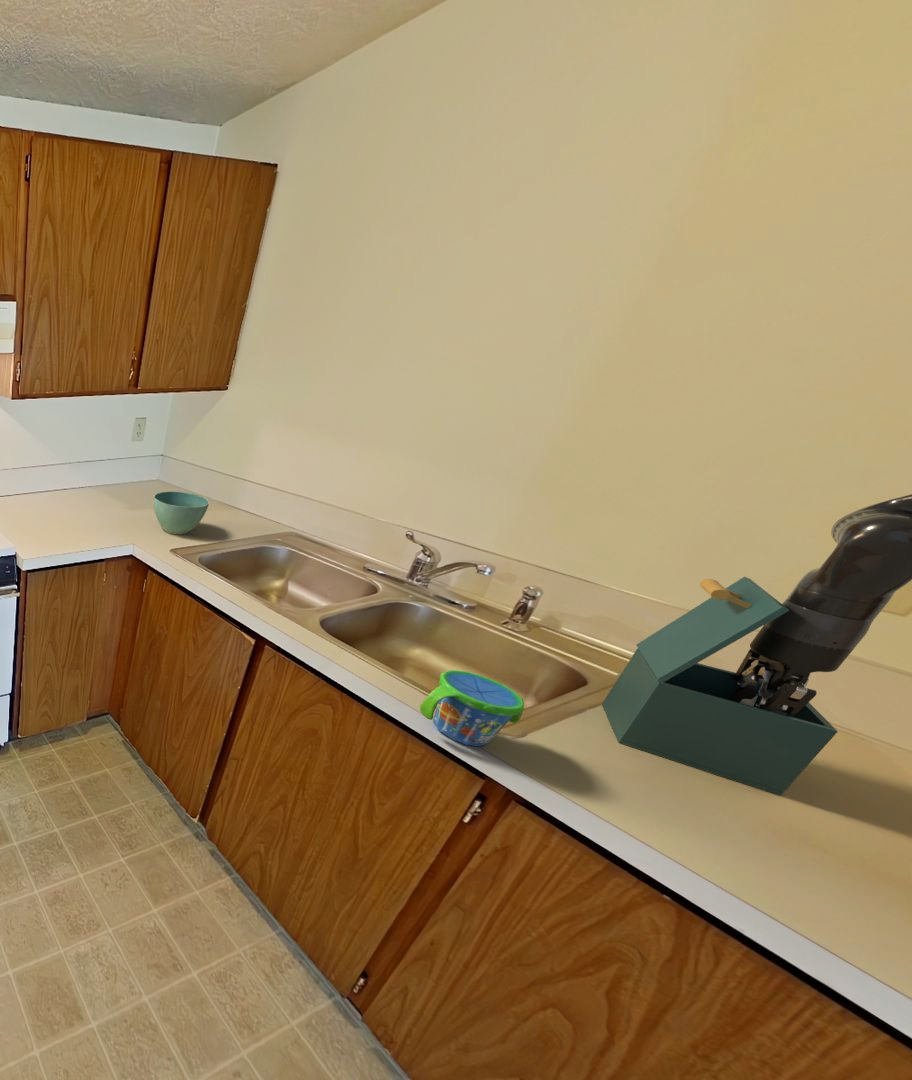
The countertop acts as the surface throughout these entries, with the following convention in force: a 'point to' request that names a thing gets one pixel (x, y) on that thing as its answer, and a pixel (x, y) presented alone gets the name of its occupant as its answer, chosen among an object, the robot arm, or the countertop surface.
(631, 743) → the chest
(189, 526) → the green bowl
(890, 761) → the countertop surface
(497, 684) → the snack cup
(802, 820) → the countertop surface
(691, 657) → the lid
